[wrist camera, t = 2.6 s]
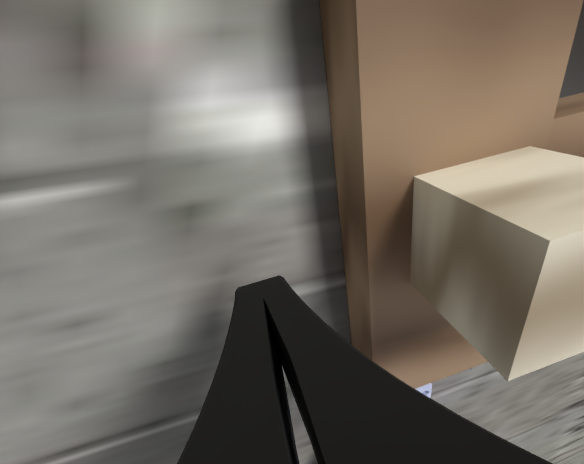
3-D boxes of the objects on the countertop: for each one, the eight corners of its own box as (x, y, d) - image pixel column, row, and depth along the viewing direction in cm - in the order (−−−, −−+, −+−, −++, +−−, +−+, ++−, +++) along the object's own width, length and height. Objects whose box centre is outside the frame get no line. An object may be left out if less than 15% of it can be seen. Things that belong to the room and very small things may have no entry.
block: (506, 252, 13) (638, 329, 9) (409, 283, 12) (507, 381, 8) (530, 146, 11) (719, 186, 7) (414, 176, 10) (550, 241, 6)
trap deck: (651, 259, 21) (703, 280, 19) (353, 363, 17) (374, 403, 15) (861, -151, 11) (1015, -203, 9) (310, -88, 8) (349, -146, 6)
